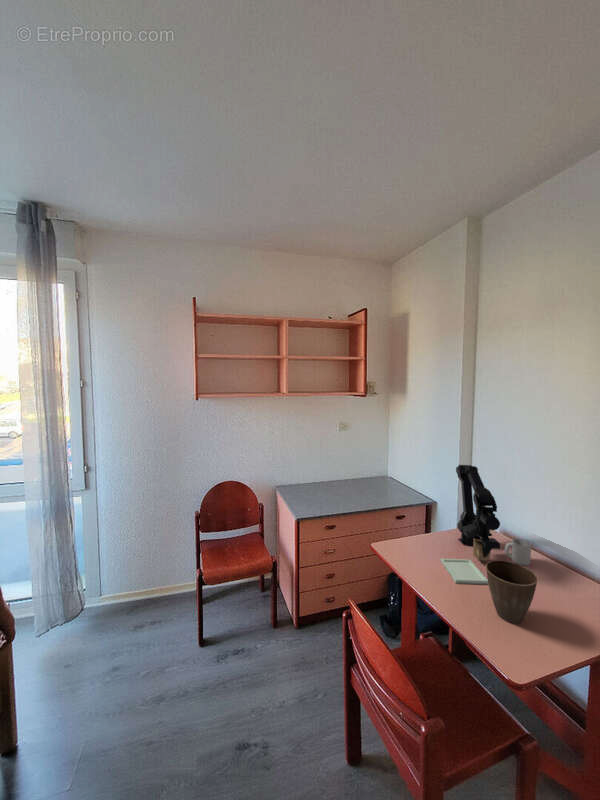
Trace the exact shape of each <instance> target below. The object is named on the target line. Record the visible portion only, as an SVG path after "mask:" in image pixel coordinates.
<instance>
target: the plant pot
mask: <svg viewBox="0 0 600 800" xmlns="http://www.w3.org/2000/svg"><path fill="white" fill-rule="evenodd" d="M485 571H486V576H487V577H486V578H487V579H488V584H489V585H488V588H489V593H490V595H491V596H490V597H491V599H492V601H493V605H494V609H495V611H496V614H497V615H498V616H499V618H501V619H502V621H505V622H507V623H510V624H520V623H522V621H523V620H524V618H525V617H526V615H527V613H528V611H529V609H530V606H531V605H532V602H533V600H534V599H533V598H534V596H535V593H536V588H537V584H538V577H537V575H536V574H535V573H534V572H533V571H531V569H528V567H525V566H524V565H520V564H517V563H515V562H513V561H508V560H498V559H497V560H496V559H494V560H489V562H488V561H487V562H486V564H485Z"/></svg>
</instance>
